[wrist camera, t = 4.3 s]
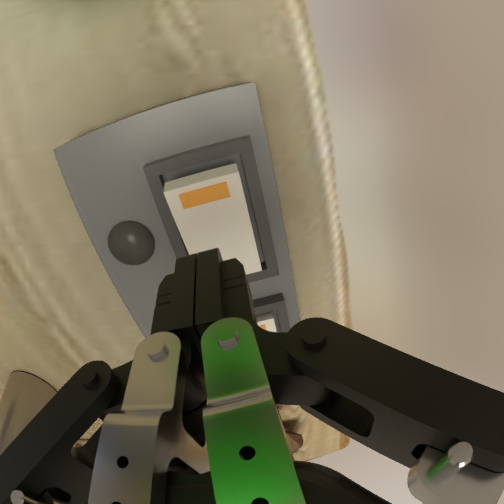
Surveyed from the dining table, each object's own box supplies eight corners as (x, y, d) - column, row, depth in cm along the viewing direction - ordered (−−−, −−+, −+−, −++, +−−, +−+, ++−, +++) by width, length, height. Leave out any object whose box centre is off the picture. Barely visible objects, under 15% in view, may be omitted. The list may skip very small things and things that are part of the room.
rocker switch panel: (301, 355, 36) (310, 385, 32) (190, 380, 36) (190, 410, 32) (247, 82, 20) (257, 81, 16) (72, 139, 20) (46, 153, 16)
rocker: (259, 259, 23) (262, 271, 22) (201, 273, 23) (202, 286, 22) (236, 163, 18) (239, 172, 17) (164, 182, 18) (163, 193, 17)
